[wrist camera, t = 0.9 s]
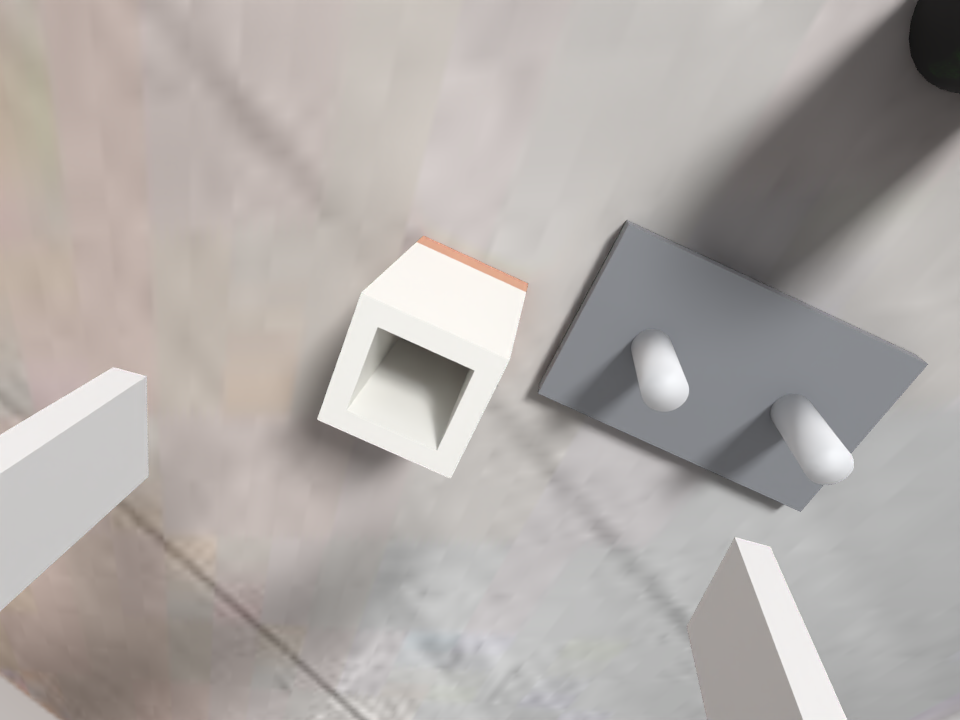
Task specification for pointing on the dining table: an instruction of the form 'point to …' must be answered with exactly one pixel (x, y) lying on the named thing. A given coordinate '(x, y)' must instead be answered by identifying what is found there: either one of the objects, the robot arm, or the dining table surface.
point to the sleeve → (425, 355)
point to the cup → (937, 42)
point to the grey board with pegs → (724, 369)
